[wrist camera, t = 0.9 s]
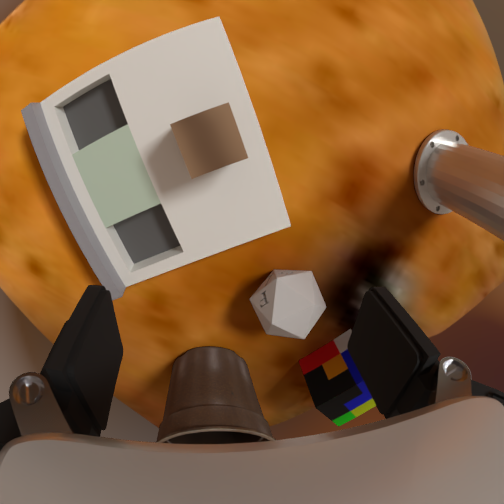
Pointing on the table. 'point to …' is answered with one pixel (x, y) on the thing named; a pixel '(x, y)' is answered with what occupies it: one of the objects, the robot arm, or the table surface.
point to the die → (288, 303)
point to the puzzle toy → (336, 381)
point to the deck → (153, 158)
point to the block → (209, 140)
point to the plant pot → (212, 401)
